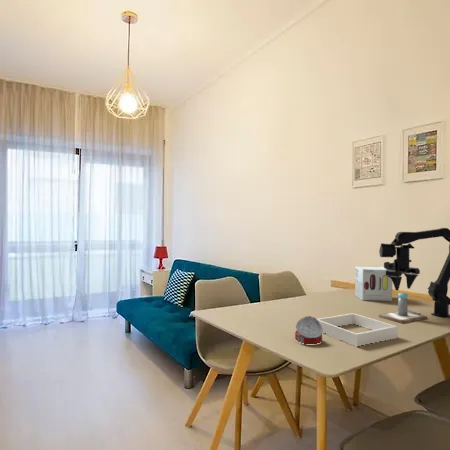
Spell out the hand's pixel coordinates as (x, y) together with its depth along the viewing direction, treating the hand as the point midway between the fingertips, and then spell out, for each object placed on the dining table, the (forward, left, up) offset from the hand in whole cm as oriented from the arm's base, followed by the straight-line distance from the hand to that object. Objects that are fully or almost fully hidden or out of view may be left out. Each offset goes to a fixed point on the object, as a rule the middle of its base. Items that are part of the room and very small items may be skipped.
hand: (402, 289), depth 172 cm
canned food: (+67, +10, -12) cm, 69 cm away
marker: (+6, +5, -11) cm, 13 cm away
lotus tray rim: (+45, +12, -12) cm, 48 cm away
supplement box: (-16, -30, -12) cm, 36 cm away
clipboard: (+6, +5, -12) cm, 14 cm away
